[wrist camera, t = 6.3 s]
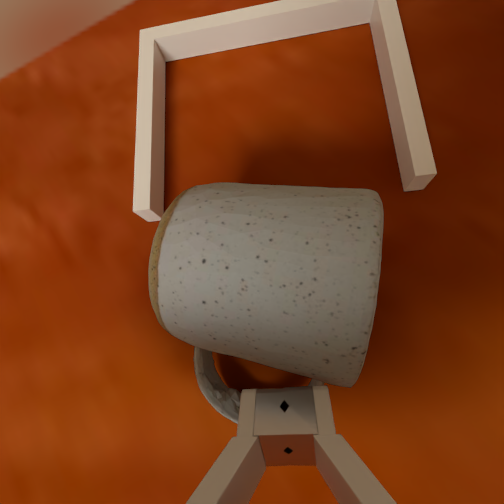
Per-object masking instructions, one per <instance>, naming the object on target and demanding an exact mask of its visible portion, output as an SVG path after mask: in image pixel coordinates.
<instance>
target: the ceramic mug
mask: <svg viewBox="0 0 504 504" xmlns="http://www.w3.org/2000/svg"><path fill="white" fill-rule="evenodd" d="M383 223H384V211H383V204H382V201H381V199H380V196H379V194H378V193H377V192H376V191H373V190H370V189H356V188H328V187H308V186H287V185H261V184H244V183H213V184H206V185H198V186H194V187H191V188H189V189H187V190H185V191H183V192H182V193H181V194H180V195H178V196H177V197H176V198H175V200H174V201H173V202H172V203H171V205H170V206H169V207H168V208H167V210H166V211H165V212H164V214H163V216H162V218H161V221H160V223H159V226H158V228H157V231H156V233H155V236H154V239H153V243H152V248H151V253H150V258H149V269H148V275H149V295H150V299H151V304H152V307H153V309H154V312H155V314H156V317H157V319H158V322H159V323H160V324H161V326H162V327H163V328H164V329H165V330H166V331H167V332H168V333H170V334H171V335H173V336H175V337H176V338H178V339H180V340H182V341H184V342H186V343H189V344H191V345H193V346H195V348H194V359H193V360H194V368H195V374H196V378H197V381H198V385H199V387H200V390H201V392H202V393H203V395H204V396H205V397H206V399H207V400H208V402H209V403H210V404H211V405H212V406H213V407H214V408H215V409H216V410H217V411H218V412H219V413H221V414H222V415H223V416H225V417H226V418H228V419H230V420H232V421H233V422H235V423H237V424H238V419H239V409H240V400H241V393H240V392H239V391H238V390H236V389H233V388H228V387H227V386H226V385H225V384H224V383H223V381H222V380H221V378H220V377H219V375H218V373H217V371H216V369H215V366H214V360H213V357H212V351H213V352H217V353H220V354H225V355H231V356H235V357H239V358H243V359H246V360H250V361H253V362H257V363H260V364H263V365H266V366H270V367H273V368H276V369H280V370H283V371H287V372H291V373H295V374H298V375H302V376H306V377H309V378H312V380H311V382H310V383H309V385H308V386H312V387H313V386H324V383H328V384H332V385H337V386H343V387H350V388H351V387H352V386H353V385H354V384H355V383H356V381H357V379H358V377H359V375H360V373H361V370H362V367H363V365H364V361H365V357H366V353H367V350H368V344H369V339H370V335H371V331H372V327H373V321H374V315H375V310H376V305H377V294H378V287H379V278H380V272H381V260H382V239H383Z"/></svg>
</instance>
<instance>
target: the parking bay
mask: <svg viewBox="0 0 504 504" xmlns="http://www.w3.org/2000/svg"><path fill="white" fill-rule="evenodd" d="M365 23H370V28H371V32H372V37H373V42H374V47H375V52H376V57H377V62H378V67H379V72H380V77H381V82H382V87H383V91H384V96H385V101H386V106H387V111H388V116H389V121H390V126H391V131H392V136H393V141H394V146H395V150H396V155H397V160H398V165H399V170H400V175H401V180H402V185H403V190H404V192H405V191H414V190H422V189H424V188H425V187H426V186H427V184H428V183H429V182H430V181H431V180H432V179H433V178H434V176H435V175H436V174H437V171H436V167H435V162H434V158H433V154H432V150H431V146H430V141H429V137H428V133H427V129H426V124H425V120H424V116H423V112H422V108H421V103H420V99H419V95H418V91H417V87H416V82H415V78H414V74H413V70H412V65H411V61H410V57H409V53H408V49H407V44H406V40H405V36H404V32H403V27H402V23H401V19H400V15H399V11H398V6H397V2H396V0H281V1H276V2H271V3H266V4H262V5H257V6H252V7H247V8H242V9H238V10H233V11H228V12H223V13H219V14H214V15H209V16H204V17H200V18H195V19H190V20H185V21H180V22H176V23H171V24H166V25H161V26H157V27H152V28H147V29H142V30H140V44H139V69H138V94H137V120H136V145H135V170H134V195H133V212H135V213H136V214H138V215H139V216H141V217H142V218H143V219H145V220H146V221H148V222H152V221H160V220H161V218H162V216H163V214H164V147H165V66H166V62H167V61H173V60H178V59H183V58H188V57H193V56H199V55H204V54H209V53H214V52H219V51H225V50H230V49H235V48H240V47H245V46H251V45H256V44H261V43H266V42H271V41H277V40H282V39H287V38H292V37H297V36H303V35H308V34H313V33H318V32H323V31H329V30H334V29H339V28H344V27H349V26H355V25H360V24H365Z"/></svg>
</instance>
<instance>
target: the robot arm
mask: <svg viewBox="0 0 504 504" xmlns="http://www.w3.org/2000/svg"><path fill="white" fill-rule="evenodd" d="M285 465H305V466H317V469H318V470H319V472H320V473H321V475H322V477H323V478H324V480H325V482H326V483H327V485H328V487H329V488H330V490H331V491H332V493H333V495H334V496H335V498H336V500H337V501H338V503H339V504H397V503H396V502H395V501H394V500H393V498H392V497H391V496H390V495H389V494H388V492H387V491H386V490H385V489H384V487H383V486H382V485H381V484H380V482H379V481H378V480H377V479H376V477H375V476H374V475H373V474H372V472H371V471H370V470H369V469H368V468H367V466H366V465H365V464H364V463H363V461H362V460H361V459H360V458H359V456H358V455H357V454H356V453H355V451H354V450H353V449H352V448H351V446H350V445H349V444H348V443H347V441H346V440H345V439H344V438H343V437H342V435H341V434H336V431H335V425H334V419H333V413H332V407H331V402H330V396H329V390H328V387H327V385H326V386H313V387H312V386H302V387H286V388H270V389H243V390H242V393H241V400H240V409H239V419H238V429H237V437H232V438H231V440H230V441H229V443H228V444H227V446H226V447H225V448H224V450H223V451H222V453H221V454H220V456H219V457H218V458H217V460H216V461H215V463H214V464H213V466H212V467H211V468H210V470H209V471H208V473H207V474H206V476H205V477H204V478H203V480H202V481H201V483H200V484H199V486H198V487H197V488H196V490H195V491H194V493H193V494H192V496H191V497H190V498H189V500H188V501H187V503H186V504H248V503H249V501H250V499H251V497H252V495H253V493H254V491H255V489H256V487H257V485H258V483H259V481H260V479H261V477H262V475H263V473H264V471H265V469H266V466H285Z"/></svg>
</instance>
